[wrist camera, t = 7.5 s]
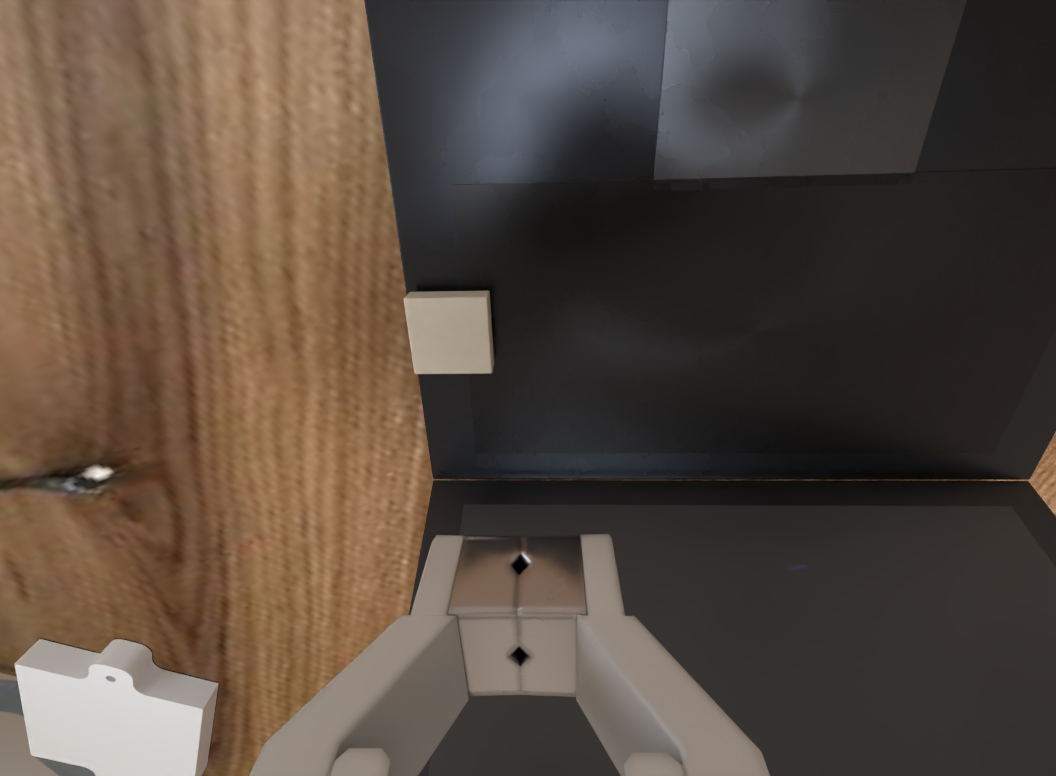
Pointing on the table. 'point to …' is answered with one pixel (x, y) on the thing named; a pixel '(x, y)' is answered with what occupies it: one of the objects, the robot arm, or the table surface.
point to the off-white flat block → (450, 332)
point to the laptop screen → (800, 620)
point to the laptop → (732, 232)
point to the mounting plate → (115, 710)
